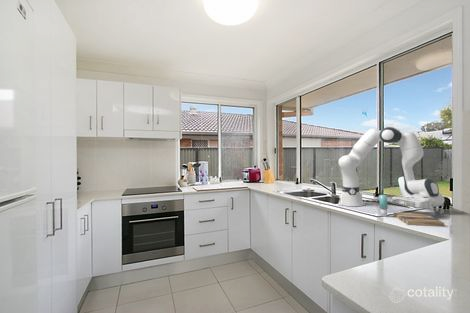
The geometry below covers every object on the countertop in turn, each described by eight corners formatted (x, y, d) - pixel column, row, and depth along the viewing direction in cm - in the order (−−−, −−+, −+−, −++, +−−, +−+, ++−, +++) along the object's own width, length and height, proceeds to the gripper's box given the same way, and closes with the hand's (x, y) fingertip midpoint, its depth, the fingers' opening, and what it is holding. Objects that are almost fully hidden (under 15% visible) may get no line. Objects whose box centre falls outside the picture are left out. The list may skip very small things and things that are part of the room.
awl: (379, 215, 140) (378, 194, 140) (386, 215, 138) (385, 194, 139) (381, 217, 136) (380, 195, 136) (388, 217, 135) (388, 195, 135)
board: (393, 215, 138) (393, 211, 138) (424, 216, 133) (424, 213, 133) (407, 224, 119) (407, 220, 119) (444, 226, 114) (444, 222, 114)
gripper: (402, 193, 151) (384, 194, 149) (433, 199, 131) (412, 200, 129) (403, 203, 151) (385, 204, 149) (434, 209, 130) (413, 211, 129)
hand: (398, 202), depth 139 cm, fingers open, 8 cm apart
